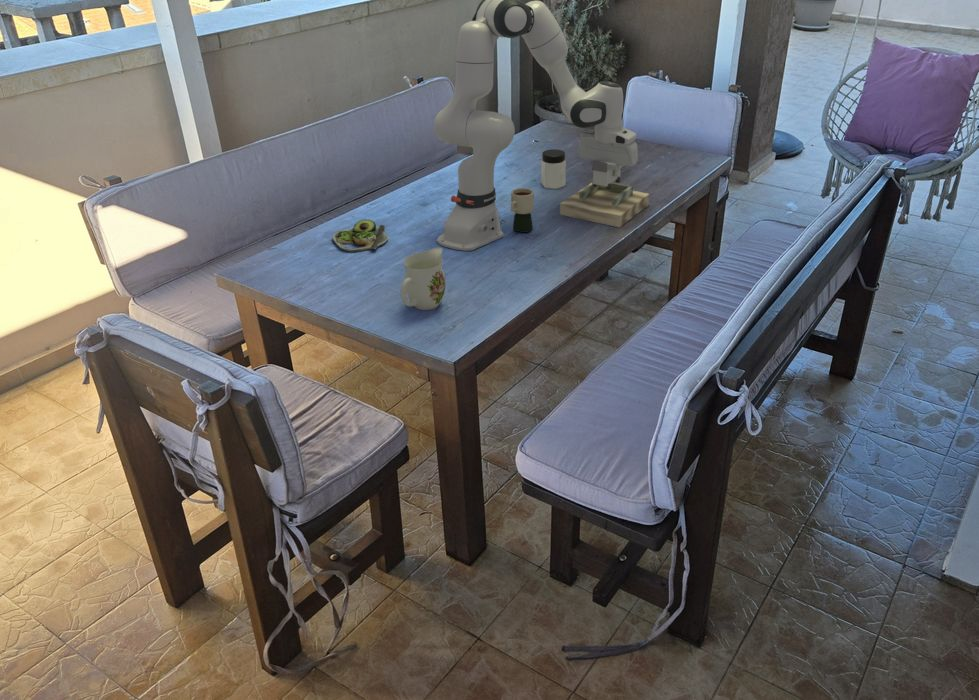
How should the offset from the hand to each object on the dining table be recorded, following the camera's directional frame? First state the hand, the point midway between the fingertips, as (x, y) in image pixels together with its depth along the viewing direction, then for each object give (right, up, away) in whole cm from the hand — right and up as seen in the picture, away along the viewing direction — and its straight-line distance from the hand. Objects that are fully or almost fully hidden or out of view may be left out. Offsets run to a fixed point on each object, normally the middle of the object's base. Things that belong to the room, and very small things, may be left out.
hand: (606, 174), depth 279 cm
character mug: (-28, -20, -6) cm, 35 cm away
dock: (0, -11, +6) cm, 12 cm away
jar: (-16, +2, +28) cm, 32 cm away
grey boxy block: (0, -3, +2) cm, 4 cm away
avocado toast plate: (-80, -23, -8) cm, 83 cm away
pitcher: (-56, -46, -48) cm, 87 cm away
